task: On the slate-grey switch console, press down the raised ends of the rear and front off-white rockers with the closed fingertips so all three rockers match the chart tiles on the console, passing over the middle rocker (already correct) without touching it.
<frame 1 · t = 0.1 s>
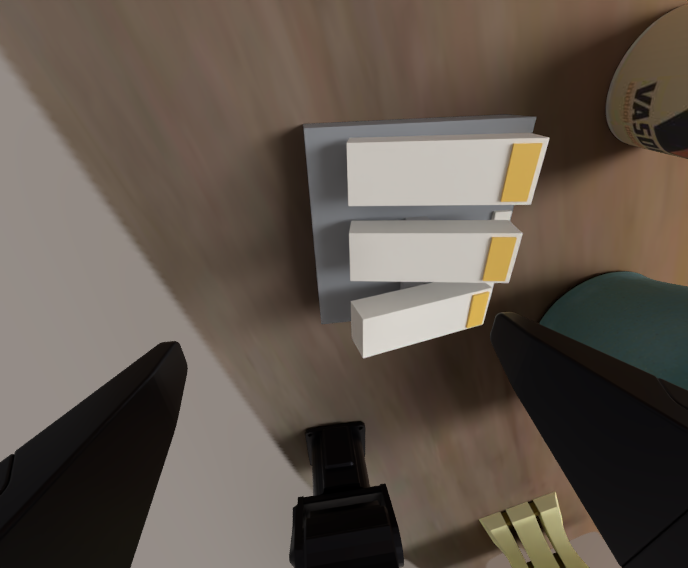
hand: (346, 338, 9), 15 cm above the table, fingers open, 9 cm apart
console: (401, 219, 23), on the table
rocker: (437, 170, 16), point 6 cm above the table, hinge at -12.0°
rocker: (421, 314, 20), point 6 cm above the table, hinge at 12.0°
slatted curved stool: (522, 521, 55), on the table
rocker middle: (428, 251, 18), point 6 cm above the table, hinge at -12.0°
coffee cup: (660, 80, 20), on the table
flower pot: (588, 319, 31), on the table
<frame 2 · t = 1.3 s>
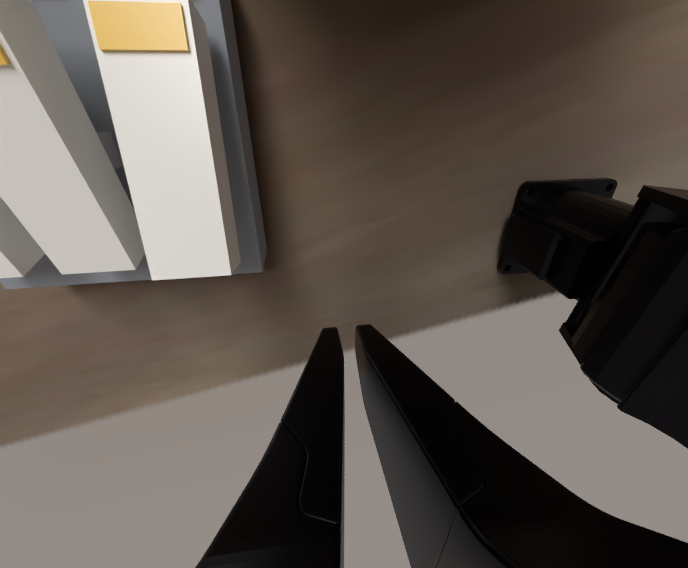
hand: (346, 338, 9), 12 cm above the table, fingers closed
console: (120, 141, 16), on the table
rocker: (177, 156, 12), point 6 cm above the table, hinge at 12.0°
rocker middle: (46, 160, 11), point 6 cm above the table, hinge at -12.0°
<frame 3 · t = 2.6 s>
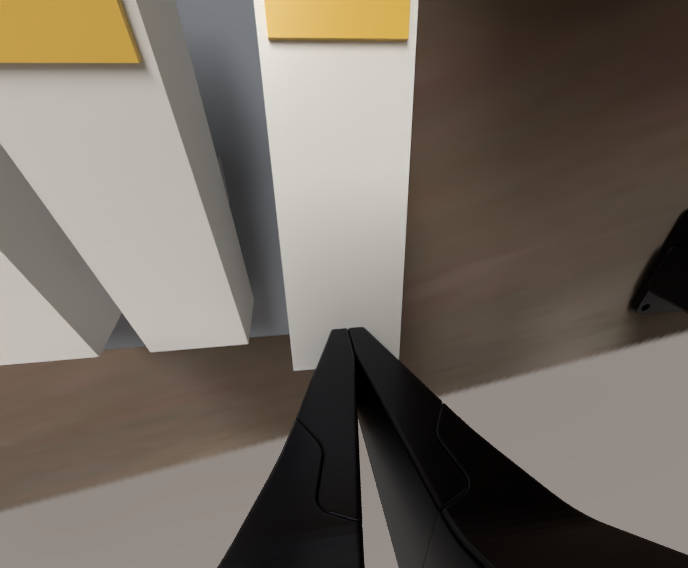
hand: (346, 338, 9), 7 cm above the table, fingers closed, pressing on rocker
console: (209, 161, 12), on the table
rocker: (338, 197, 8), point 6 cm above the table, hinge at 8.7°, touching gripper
rocker middle: (152, 206, 7), point 6 cm above the table, hinge at -12.0°
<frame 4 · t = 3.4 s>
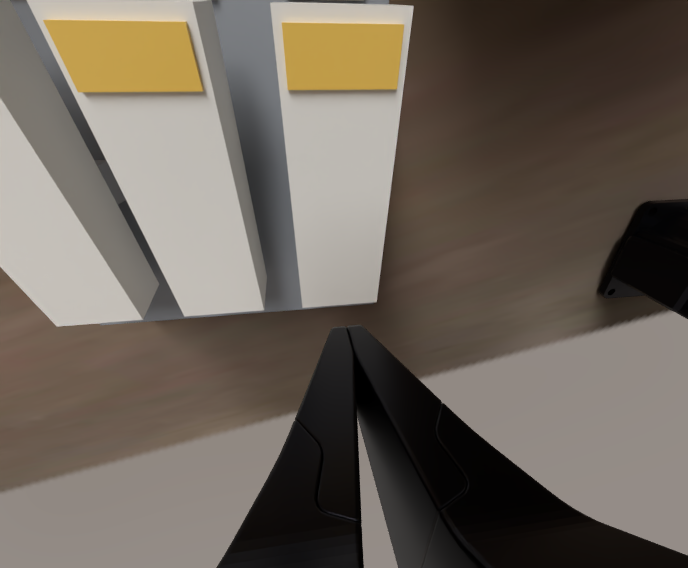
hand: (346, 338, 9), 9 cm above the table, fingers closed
console: (228, 162, 14), on the table
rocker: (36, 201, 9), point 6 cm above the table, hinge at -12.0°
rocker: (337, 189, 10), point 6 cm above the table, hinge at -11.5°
rocker middle: (194, 194, 10), point 6 cm above the table, hinge at -12.0°
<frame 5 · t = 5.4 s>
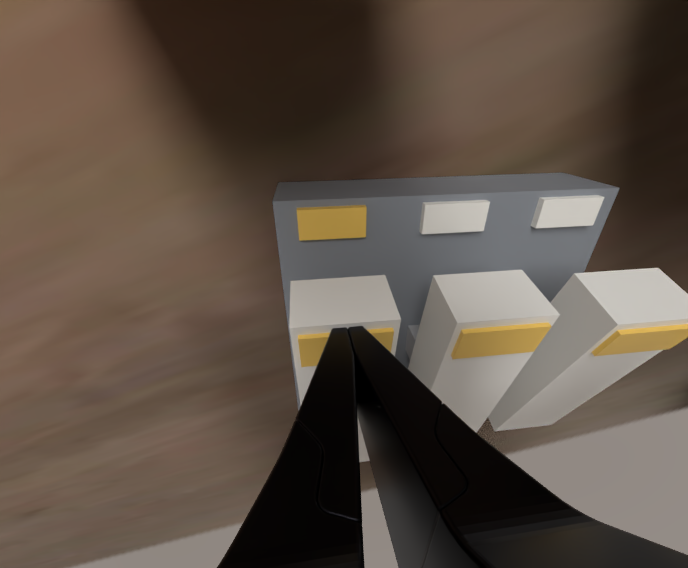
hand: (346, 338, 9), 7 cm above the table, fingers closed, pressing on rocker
console: (412, 300, 17), on the table
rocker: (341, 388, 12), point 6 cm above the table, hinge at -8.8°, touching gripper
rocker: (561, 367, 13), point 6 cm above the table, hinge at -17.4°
rocker middle: (455, 377, 12), point 6 cm above the table, hinge at -12.0°
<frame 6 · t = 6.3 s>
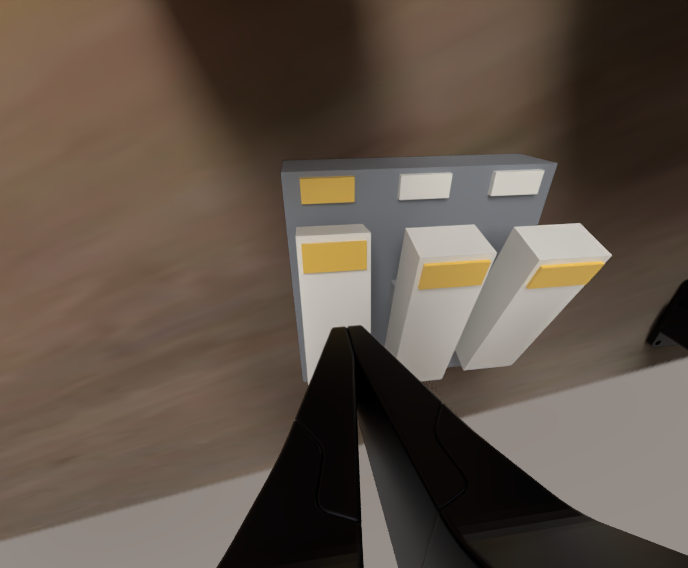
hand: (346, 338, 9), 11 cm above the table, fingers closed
console: (396, 264, 20), on the table
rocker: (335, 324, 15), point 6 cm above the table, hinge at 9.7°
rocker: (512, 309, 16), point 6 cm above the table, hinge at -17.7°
rocker middle: (427, 316, 15), point 6 cm above the table, hinge at -12.0°
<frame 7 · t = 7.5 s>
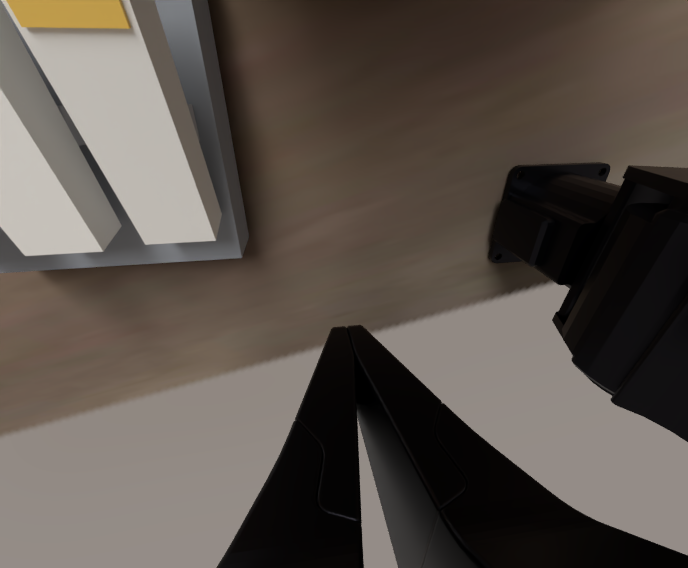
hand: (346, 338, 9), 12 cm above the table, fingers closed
console: (92, 120, 15), on the table
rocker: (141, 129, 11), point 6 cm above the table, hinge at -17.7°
rocker middle: (0, 131, 11), point 6 cm above the table, hinge at -12.0°
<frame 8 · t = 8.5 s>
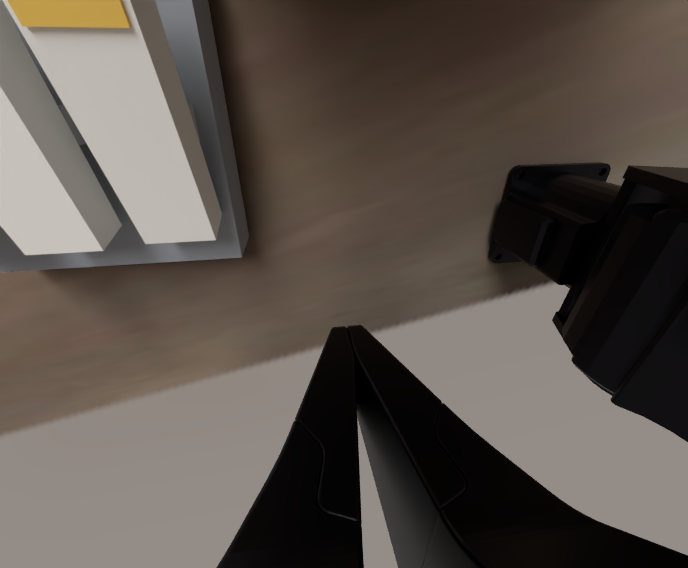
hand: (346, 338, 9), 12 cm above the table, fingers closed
console: (92, 120, 15), on the table
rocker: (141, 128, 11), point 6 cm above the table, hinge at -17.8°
rocker middle: (1, 130, 11), point 6 cm above the table, hinge at -12.0°
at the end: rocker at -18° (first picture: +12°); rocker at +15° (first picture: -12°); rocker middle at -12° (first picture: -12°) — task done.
